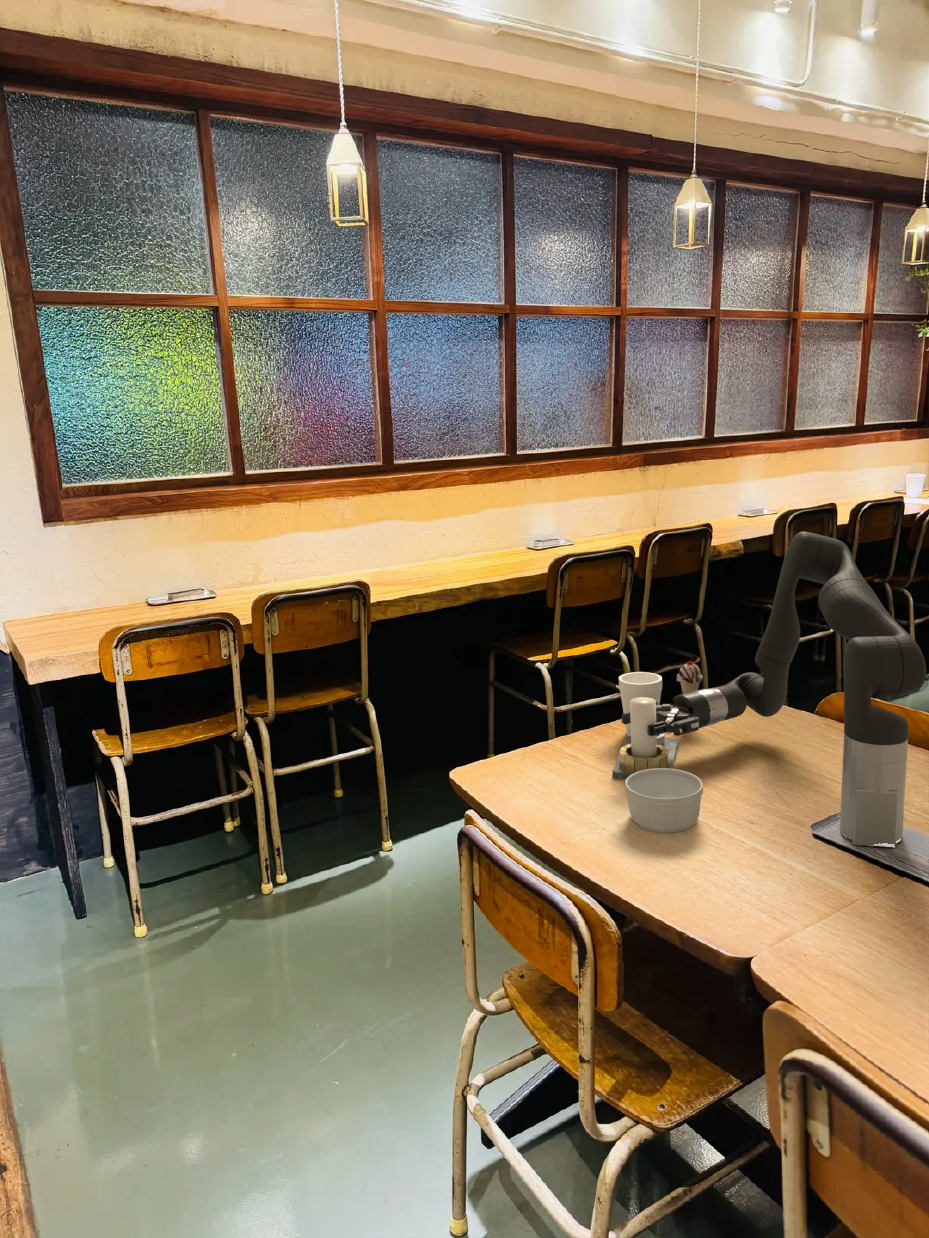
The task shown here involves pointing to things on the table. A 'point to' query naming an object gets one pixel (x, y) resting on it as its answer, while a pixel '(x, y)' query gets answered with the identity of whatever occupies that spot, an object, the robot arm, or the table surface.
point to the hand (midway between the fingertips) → (635, 724)
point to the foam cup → (638, 689)
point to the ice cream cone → (689, 677)
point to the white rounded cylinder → (642, 727)
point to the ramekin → (664, 799)
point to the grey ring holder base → (631, 764)
